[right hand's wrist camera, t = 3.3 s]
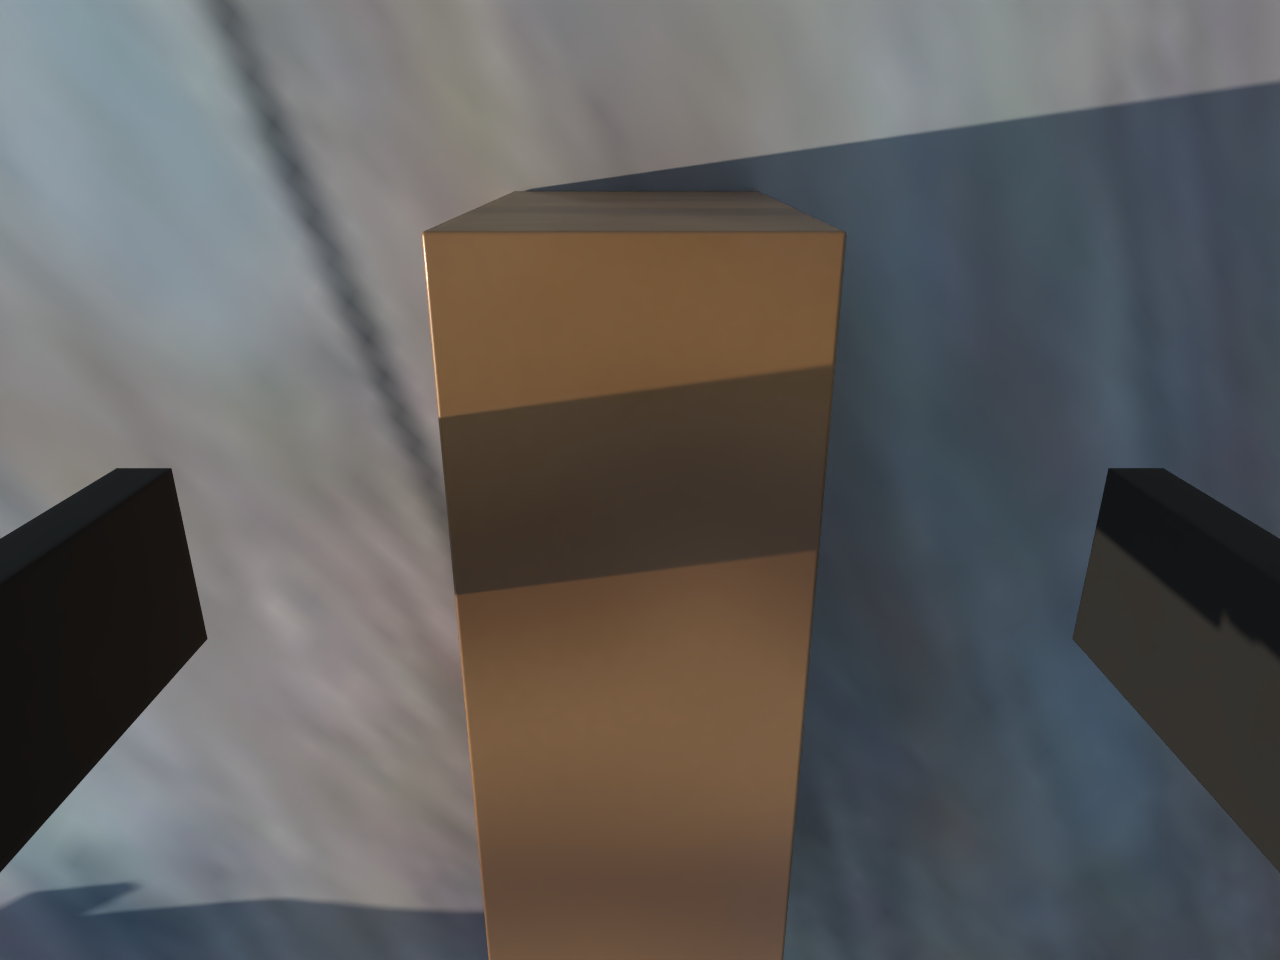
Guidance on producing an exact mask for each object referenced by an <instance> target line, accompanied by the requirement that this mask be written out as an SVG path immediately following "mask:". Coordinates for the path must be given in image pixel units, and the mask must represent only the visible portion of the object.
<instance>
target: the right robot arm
mask: <svg viewBox="0 0 1280 960" xmlns="http://www.w3.org/2000/svg"><path fill="white" fill-rule="evenodd" d="M206 640H207V635H206V630H205V625H204V620H203V616H202V611H201V606H200V602H199V597H198V592H197V587H196V583H195V578H194V573H193V568H192V564H191V559H190V554H189V549H188V545H187V540H186V535H185V531H184V526H183V521H182V516H181V512H180V507H179V502H178V497H177V493H176V488H175V483H174V478H173V474H172V469H171V468H116V469H115V470H113V471H112V472H110V473H108V474H107V475H105V476H103V477H102V478H100V479H98V480H97V481H95V482H93V483H92V484H90V485H88V486H87V487H85V488H84V489H82V490H80V491H79V492H77V493H75V494H74V495H72V496H70V497H69V498H67V499H65V500H64V501H62V502H60V503H59V504H57V505H55V506H54V507H52V508H51V509H49V510H47V511H46V512H44V513H42V514H41V515H39V516H37V517H36V518H34V519H32V520H31V521H29V522H27V523H26V524H24V525H22V526H21V527H19V528H18V529H16V530H14V531H13V532H11V533H9V534H8V535H6V536H4V537H3V538H1V539H0V872H1V871H2V870H3V869H4V868H5V866H6V865H7V864H8V863H9V862H10V861H11V860H12V859H13V857H14V856H15V855H16V854H17V853H18V852H19V851H20V850H21V848H22V847H23V846H24V845H25V844H26V843H27V842H28V841H29V839H30V838H31V837H32V836H33V835H34V834H35V833H36V832H37V830H38V829H39V828H40V827H41V826H42V825H43V824H44V822H45V821H46V820H47V819H48V818H49V817H50V816H51V815H52V813H53V812H54V811H55V810H56V809H57V808H58V807H59V806H60V804H61V803H62V802H63V801H64V800H65V799H66V798H67V797H68V795H69V794H70V793H71V792H72V791H73V790H74V789H75V788H76V786H77V785H78V784H79V783H80V782H81V781H82V780H83V779H84V777H85V776H86V775H87V774H88V773H89V772H90V771H91V769H92V768H93V767H94V766H95V765H96V764H97V763H98V762H99V760H100V759H101V758H102V757H103V756H104V755H105V754H106V753H107V751H108V750H109V749H110V748H111V747H112V746H113V745H114V744H115V742H116V741H117V740H118V739H119V738H120V737H121V736H122V735H123V733H124V732H125V731H126V730H127V729H128V728H129V727H130V726H131V724H132V723H133V722H134V721H135V720H136V719H137V718H138V716H139V715H140V714H141V713H142V712H143V711H144V710H145V709H146V707H147V706H148V705H149V704H150V703H151V702H152V701H153V700H154V698H155V697H156V696H157V695H158V694H159V693H160V692H161V691H162V689H163V688H164V687H165V686H166V685H167V684H168V683H169V682H170V680H171V679H172V678H173V677H174V676H175V675H176V674H177V673H178V671H179V670H180V669H181V668H182V667H183V666H184V665H185V663H186V662H187V661H188V660H189V659H190V658H191V657H192V656H193V654H194V653H195V652H196V651H197V650H198V649H199V648H200V647H201V645H202V644H203V643H204V642H205V641H206ZM1073 640H1074V641H1075V642H1076V643H1077V644H1078V645H1079V647H1080V648H1081V649H1082V650H1083V651H1084V652H1085V653H1086V654H1087V656H1088V657H1089V658H1090V659H1091V660H1092V661H1093V662H1094V663H1095V665H1096V666H1097V667H1098V668H1099V669H1100V670H1101V671H1102V673H1103V674H1104V675H1105V676H1106V677H1107V678H1108V679H1109V680H1110V682H1111V683H1112V684H1113V685H1114V686H1115V687H1116V688H1117V689H1118V691H1119V692H1120V693H1121V694H1122V695H1123V696H1124V697H1125V698H1126V700H1127V701H1128V702H1129V703H1130V704H1131V705H1132V706H1133V707H1134V709H1135V710H1136V711H1137V712H1138V713H1139V714H1140V715H1141V716H1142V718H1143V719H1144V720H1145V721H1146V722H1147V723H1148V724H1149V726H1150V727H1151V728H1152V729H1153V730H1154V731H1155V732H1156V733H1157V735H1158V736H1159V737H1160V738H1161V739H1162V740H1163V741H1164V742H1165V744H1166V745H1167V746H1168V747H1169V748H1170V749H1171V750H1172V751H1173V753H1174V754H1175V755H1176V756H1177V757H1178V758H1179V759H1180V760H1181V762H1182V763H1183V764H1184V765H1185V766H1186V767H1187V768H1188V769H1189V771H1190V772H1191V773H1192V774H1193V775H1194V776H1195V777H1196V779H1197V780H1198V781H1199V782H1200V783H1201V784H1202V785H1203V786H1204V788H1205V789H1206V790H1207V791H1208V792H1209V793H1210V794H1211V795H1212V797H1213V798H1214V799H1215V800H1216V801H1217V802H1218V803H1219V804H1220V806H1221V807H1222V808H1223V809H1224V810H1225V811H1226V812H1227V813H1228V815H1229V816H1230V817H1231V818H1232V819H1233V820H1234V821H1235V822H1236V824H1237V825H1238V826H1239V827H1240V828H1241V829H1242V830H1243V832H1244V833H1245V834H1246V835H1247V836H1248V837H1249V838H1250V839H1251V841H1252V842H1253V843H1254V844H1255V845H1256V846H1257V847H1258V848H1259V850H1260V851H1261V852H1262V853H1263V854H1264V855H1265V856H1266V857H1267V859H1268V860H1269V861H1270V862H1271V863H1272V864H1273V865H1274V866H1275V868H1276V869H1277V870H1278V871H1279V872H1280V539H1279V538H1277V537H1276V536H1274V535H1272V534H1271V533H1269V532H1267V531H1266V530H1264V529H1262V528H1261V527H1259V526H1258V525H1256V524H1254V523H1253V522H1251V521H1249V520H1248V519H1246V518H1244V517H1243V516H1241V515H1239V514H1238V513H1236V512H1234V511H1233V510H1231V509H1229V508H1228V507H1226V506H1225V505H1223V504H1221V503H1220V502H1218V501H1216V500H1215V499H1213V498H1211V497H1210V496H1208V495H1206V494H1205V493H1203V492H1201V491H1200V490H1198V489H1196V488H1195V487H1193V486H1192V485H1190V484H1188V483H1187V482H1185V481H1183V480H1182V479H1180V478H1178V477H1177V476H1175V475H1173V474H1172V473H1170V472H1168V471H1167V470H1165V469H1164V468H1109V469H1108V474H1107V478H1106V483H1105V488H1104V493H1103V497H1102V502H1101V507H1100V512H1099V516H1098V521H1097V526H1096V531H1095V535H1094V540H1093V545H1092V549H1091V554H1090V559H1089V564H1088V568H1087V573H1086V578H1085V583H1084V587H1083V592H1082V597H1081V602H1080V606H1079V611H1078V616H1077V620H1076V625H1075V630H1074V635H1073Z"/></svg>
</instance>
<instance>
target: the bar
mask: <svg viewBox="0 0 1280 960" xmlns="http://www.w3.org/2000/svg"><path fill="white" fill-rule="evenodd" d="M422 246H423V257H424V268H425V279H426V289H427V300H428V311H429V322H430V332H431V343H432V354H433V365H434V376H435V386H436V397H437V408H438V419H439V429H440V440H441V451H442V462H443V473H444V483H445V494H446V505H447V516H448V527H449V537H450V548H451V559H452V570H453V580H454V591H455V602H456V613H457V624H458V634H459V645H460V656H461V667H462V677H463V688H464V699H465V710H466V721H467V731H468V742H469V753H470V764H471V775H472V785H473V796H474V807H475V818H476V828H477V839H478V850H479V861H480V872H481V882H482V893H483V904H484V915H485V925H486V936H487V947H488V958H489V960H783V954H784V943H785V931H786V920H787V908H788V897H789V886H790V874H791V863H792V851H793V840H794V829H795V817H796V806H797V794H798V783H799V772H800V760H801V749H802V737H803V726H804V714H805V703H806V692H807V680H808V669H809V657H810V646H811V635H812V623H813V612H814V600H815V589H816V578H817V566H818V555H819V543H820V532H821V521H822V509H823V498H824V486H825V475H826V464H827V452H828V441H829V429H830V418H831V407H832V395H833V384H834V372H835V361H836V350H837V338H838V327H839V315H840V304H841V292H842V281H843V270H844V258H845V247H846V232H844V231H842V230H840V229H838V228H836V227H833V226H831V225H829V224H827V223H825V222H823V221H821V220H818V219H816V218H814V217H812V216H810V215H808V214H806V213H803V212H801V211H799V210H797V209H795V208H793V207H791V206H788V205H786V204H784V203H782V202H780V201H778V200H776V199H773V198H771V197H769V196H767V195H765V194H763V193H760V192H758V191H515V192H512V193H510V194H508V195H505V196H503V197H501V198H499V199H496V200H494V201H492V202H490V203H487V204H485V205H483V206H481V207H478V208H476V209H474V210H471V211H469V212H467V213H465V214H462V215H460V216H458V217H456V218H453V219H451V220H449V221H447V222H444V223H442V224H440V225H437V226H435V227H433V228H431V229H428V230H426V231H424V232H422Z"/></svg>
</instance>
